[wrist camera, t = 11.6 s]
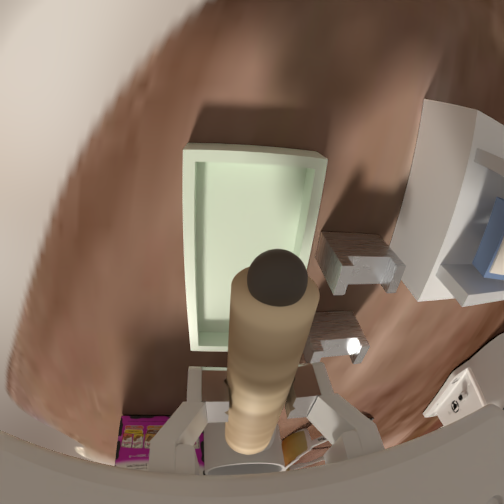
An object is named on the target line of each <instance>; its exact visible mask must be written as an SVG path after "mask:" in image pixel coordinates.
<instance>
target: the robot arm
mask: <svg viewBox="0 0 504 504" xmlns="http://www.w3.org/2000/svg"><path fill="white" fill-rule="evenodd" d="M285 409H286V414H287V419H289V418H300V417H307V419H308V420H309V421H310V422H311V423H312V424H313V425H314V426H315V427H316V428H317V429H318V430H319V431H320V432H321V433H322V434H323V435H324V437H325V438H326V439H327V440H328V441H329V442H330V443H331V444H332V446H331V447H330V448H329V449H328V451H327V452H326V453H325V454H324V459H325V463H326V465H320V466H315V467H309V468H303V469H297V470H289V471H281V472H272V473H261V474H247V475H199V463H198V460H197V456H196V452H195V448H194V447H193V445H194V444H195V442H196V441H197V439H198V437H199V436H200V434H201V433H202V431H203V430H204V428H205V427H206V425H207V423H210V422H228V417H229V413H228V410H229V389H228V385H227V367H193V366H189V369H188V383H187V402H182V404H181V405H180V406H179V407H178V408H177V410H176V411H175V412H174V413H173V415H172V416H171V417H170V418H169V419H168V421H167V422H166V423H165V424H164V425H163V427H162V428H161V429H160V430H159V431H158V433H157V434H156V435H155V436H154V437H153V438H152V440H151V441H150V453H149V467H148V471H142V470H135V469H128V468H122V467H117V466H111V465H106V464H102V463H97V462H93V461H88V460H84V459H81V458H77V457H73V456H69V455H66V454H63V453H59V452H56V451H53V450H50V449H47V448H44V447H41V446H38V445H36V444H32V443H30V442H28V441H25V440H22V439H20V438H18V437H15V436H13V435H10V434H8V433H6V432H4V431H1V430H0V504H504V333H502V334H501V335H499V336H497V337H496V338H494V339H493V340H492V341H490V342H489V343H488V344H487V345H485V346H484V347H483V348H482V349H481V350H480V351H479V352H478V353H476V354H475V355H474V356H473V357H472V358H471V359H470V360H468V361H467V362H466V363H464V364H463V365H461V366H460V367H458V368H457V369H456V370H454V371H453V372H452V373H451V375H450V376H449V378H448V379H447V381H446V382H445V384H444V385H443V386H442V388H441V389H440V391H439V392H438V394H437V395H436V396H435V398H434V399H433V401H432V402H431V403H430V405H429V406H428V407H427V409H426V410H425V411H424V413H423V415H424V417H433V416H436V415H438V417H439V419H440V421H441V422H442V424H443V425H444V427H442V428H440V429H438V430H435V431H433V432H431V433H428V434H426V435H423V436H421V437H418V438H416V439H413V440H410V441H408V442H405V443H402V444H399V445H396V446H393V447H390V448H387V449H384V446H383V443H382V440H381V437H380V435H379V432H378V429H377V426H376V424H375V423H374V422H372V421H371V420H370V419H368V418H367V417H366V416H365V415H363V414H362V413H361V412H360V411H358V410H357V409H356V408H355V407H353V406H352V405H351V404H350V403H349V402H347V401H346V400H345V399H344V398H342V397H341V396H340V395H339V394H338V393H336V394H334V392H333V389H332V386H331V383H330V380H329V377H328V374H327V371H326V368H325V365H324V363H323V362H317V363H304V364H299V365H298V368H297V371H296V374H295V377H294V380H293V382H292V385H291V388H290V391H289V394H288V396H287V399H286V403H285Z"/></svg>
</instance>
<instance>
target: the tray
mask: <svg viewBox="0 0 504 504" xmlns="http://www.w3.org/2000/svg"><path fill="white" fill-rule="evenodd" d="M327 162H328V159H327V158H325V157H324V156H322V155H321V154H320V153H318V152H317V151H309V150H301V149H291V148H281V147H270V146H257V145H242V144H221V143H187V145H186V146H185V147H184V149H183V240H184V265H185V284H186V300H187V314H188V326H189V337H190V348H191V351H217V352H228V337H229V316H230V296H231V283H232V280H233V278H234V277H235V275H236V274H237V273H238V272H240V271H241V270H243V269H245V268H247V267H250V265H251V263H252V262H253V260H254V259H255V258H256V257H257V256H258V255H260V254H261V253H263V252H265V251H267V250H271V249H284V250H288V251H290V252H292V253H294V254H295V255H297V256H298V257H299V258H300V259H301V260H302V262H303V263H304V265H305V267H306V270H307V265H308V261H309V256H310V252H311V247H312V242H313V237H314V232H315V227H316V222H317V217H318V212H319V207H320V202H321V196H322V191H323V185H324V180H325V174H326V168H327Z"/></svg>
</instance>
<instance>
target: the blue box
mask: <svg viewBox="0 0 504 504" xmlns="http://www.w3.org/2000/svg"><path fill="white" fill-rule="evenodd" d="M472 264H473V265H474V266H475V268H476V269H477V270H478V271H479V272H480V274H481V275H482V276H483V277H484V278H491V279H499V280H504V199H502V198H499V197H496V200H495V203H494V206H493V209H492V212H491V215H490V218H489V221H488V224H487V227H486V229H485V232H484V235H483V237H482V240H481V242H480V245H479V247H478V250H477V252H476V255H475V257H474V259H473V261H472Z"/></svg>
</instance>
